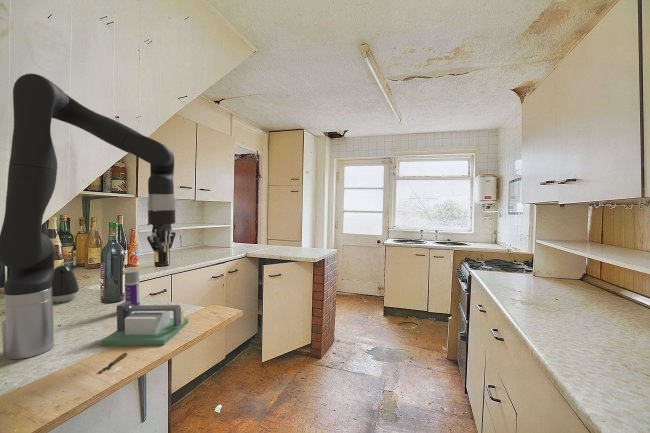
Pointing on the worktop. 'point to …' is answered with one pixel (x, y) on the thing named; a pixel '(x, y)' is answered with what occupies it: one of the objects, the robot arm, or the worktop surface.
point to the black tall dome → (64, 284)
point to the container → (132, 287)
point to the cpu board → (144, 338)
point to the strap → (174, 308)
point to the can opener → (114, 362)
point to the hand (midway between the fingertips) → (163, 263)
